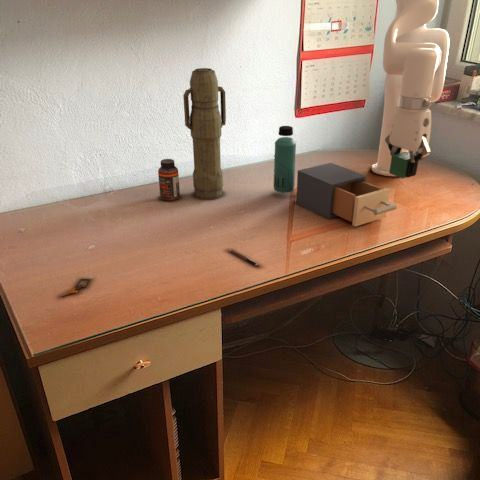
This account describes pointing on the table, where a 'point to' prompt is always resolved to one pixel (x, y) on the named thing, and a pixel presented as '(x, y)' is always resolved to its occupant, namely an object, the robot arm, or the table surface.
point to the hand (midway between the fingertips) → (402, 172)
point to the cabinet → (322, 186)
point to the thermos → (205, 131)
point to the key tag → (78, 286)
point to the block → (399, 164)
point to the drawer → (361, 202)
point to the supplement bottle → (168, 180)
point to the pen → (244, 258)
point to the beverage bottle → (284, 161)
